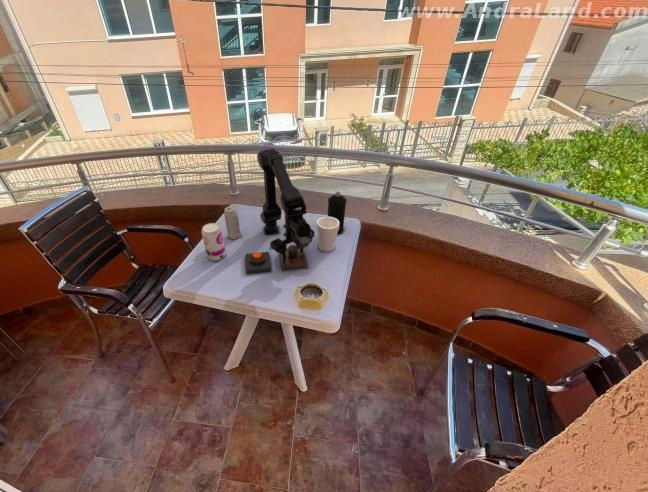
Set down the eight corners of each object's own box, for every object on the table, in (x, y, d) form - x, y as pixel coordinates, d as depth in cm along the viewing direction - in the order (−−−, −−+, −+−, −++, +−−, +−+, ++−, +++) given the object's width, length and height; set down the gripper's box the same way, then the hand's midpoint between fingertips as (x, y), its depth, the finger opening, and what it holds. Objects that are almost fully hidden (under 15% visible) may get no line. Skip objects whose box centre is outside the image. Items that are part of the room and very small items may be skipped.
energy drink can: (240, 239, 150) (236, 212, 141) (227, 240, 151) (222, 212, 141) (241, 232, 155) (237, 205, 145) (229, 233, 155) (224, 205, 146)
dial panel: (280, 254, 140) (279, 248, 138) (302, 251, 141) (302, 246, 138) (283, 270, 132) (282, 264, 130) (307, 267, 132) (307, 262, 130)
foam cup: (336, 254, 138) (338, 229, 129) (315, 253, 139) (315, 228, 131) (337, 241, 145) (339, 217, 136) (317, 240, 146) (318, 216, 138)
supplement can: (228, 251, 144) (223, 223, 134) (220, 263, 138) (214, 234, 128) (212, 249, 146) (206, 221, 136) (204, 260, 140) (197, 231, 130)
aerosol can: (339, 236, 148) (343, 197, 135) (323, 231, 151) (325, 193, 138) (346, 227, 153) (350, 189, 140) (330, 223, 157) (333, 185, 144)
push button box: (246, 257, 140) (245, 250, 137) (268, 255, 140) (268, 248, 137) (246, 274, 131) (245, 266, 129) (271, 271, 132) (270, 264, 129)
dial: (289, 258, 133) (288, 250, 130) (287, 252, 136) (287, 244, 133) (298, 257, 133) (298, 249, 130) (297, 251, 136) (296, 243, 133)
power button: (253, 255, 135) (252, 252, 133) (261, 254, 135) (261, 251, 134) (253, 260, 132) (253, 257, 131) (262, 260, 132) (261, 256, 131)
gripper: (285, 242, 115) (287, 274, 125) (324, 223, 123) (322, 255, 133) (268, 229, 122) (270, 260, 132) (305, 212, 130) (305, 243, 140)
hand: (293, 255), depth 134 cm, fingers open, 9 cm apart
